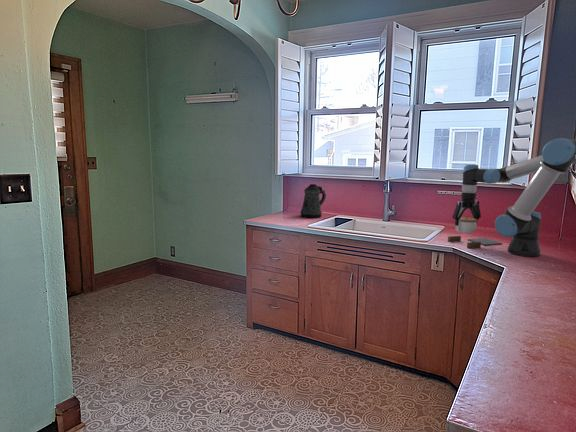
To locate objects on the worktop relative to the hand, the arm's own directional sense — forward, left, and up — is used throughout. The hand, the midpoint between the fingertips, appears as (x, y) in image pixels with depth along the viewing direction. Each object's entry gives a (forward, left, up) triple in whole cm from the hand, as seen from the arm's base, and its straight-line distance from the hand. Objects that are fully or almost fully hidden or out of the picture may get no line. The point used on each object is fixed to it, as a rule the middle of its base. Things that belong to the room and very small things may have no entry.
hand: (465, 230), depth 228 cm
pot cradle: (0, 0, -8) cm, 8 cm away
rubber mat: (+1, -16, -8) cm, 18 cm away
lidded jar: (0, 0, -1) cm, 1 cm away
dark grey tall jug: (+104, +53, -9) cm, 117 cm away
